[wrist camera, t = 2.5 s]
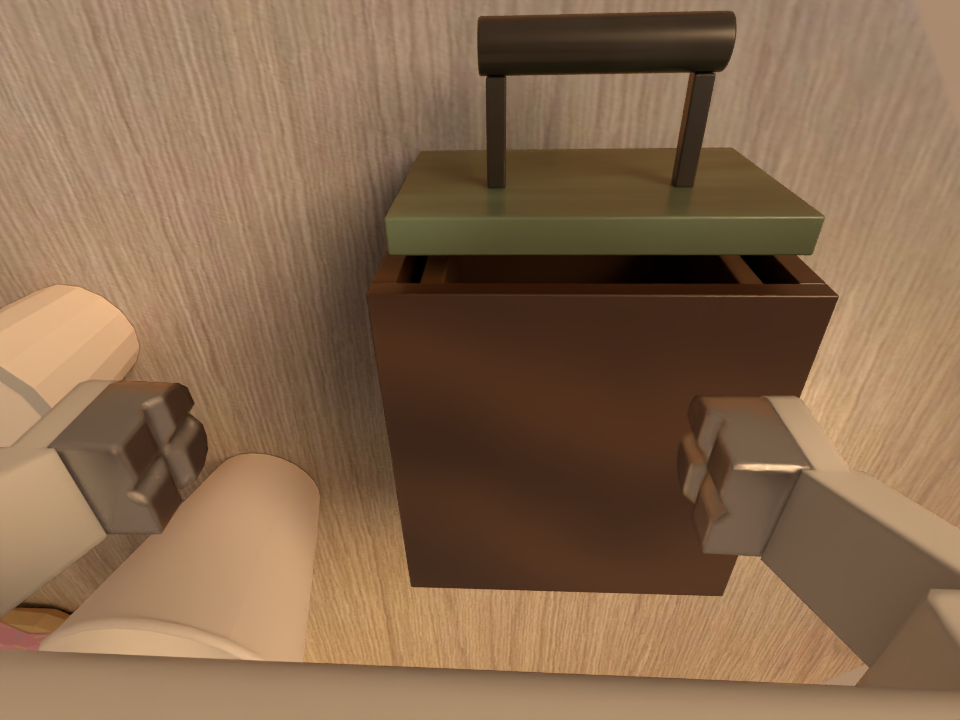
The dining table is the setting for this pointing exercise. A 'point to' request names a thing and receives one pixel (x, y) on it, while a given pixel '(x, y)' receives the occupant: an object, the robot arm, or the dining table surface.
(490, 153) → the drawer
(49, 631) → the donut
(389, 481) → the dining table surface
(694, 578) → the cabinet
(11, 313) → the shot glass
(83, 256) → the dining table surface
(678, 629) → the dining table surface
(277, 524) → the cup
